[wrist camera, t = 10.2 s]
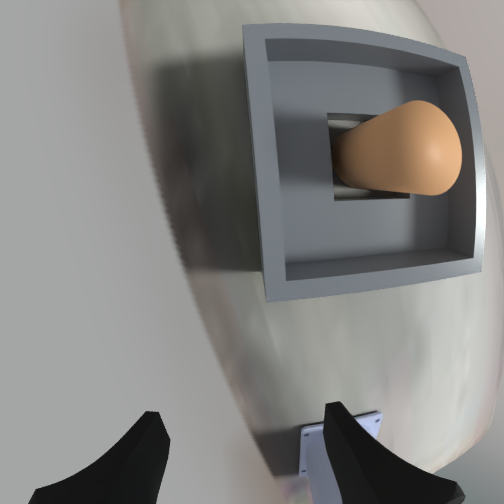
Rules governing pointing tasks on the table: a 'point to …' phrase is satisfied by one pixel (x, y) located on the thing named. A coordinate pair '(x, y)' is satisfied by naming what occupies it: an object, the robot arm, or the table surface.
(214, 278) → the table surface
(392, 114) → the peg
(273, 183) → the box
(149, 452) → the robot arm
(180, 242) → the table surface
